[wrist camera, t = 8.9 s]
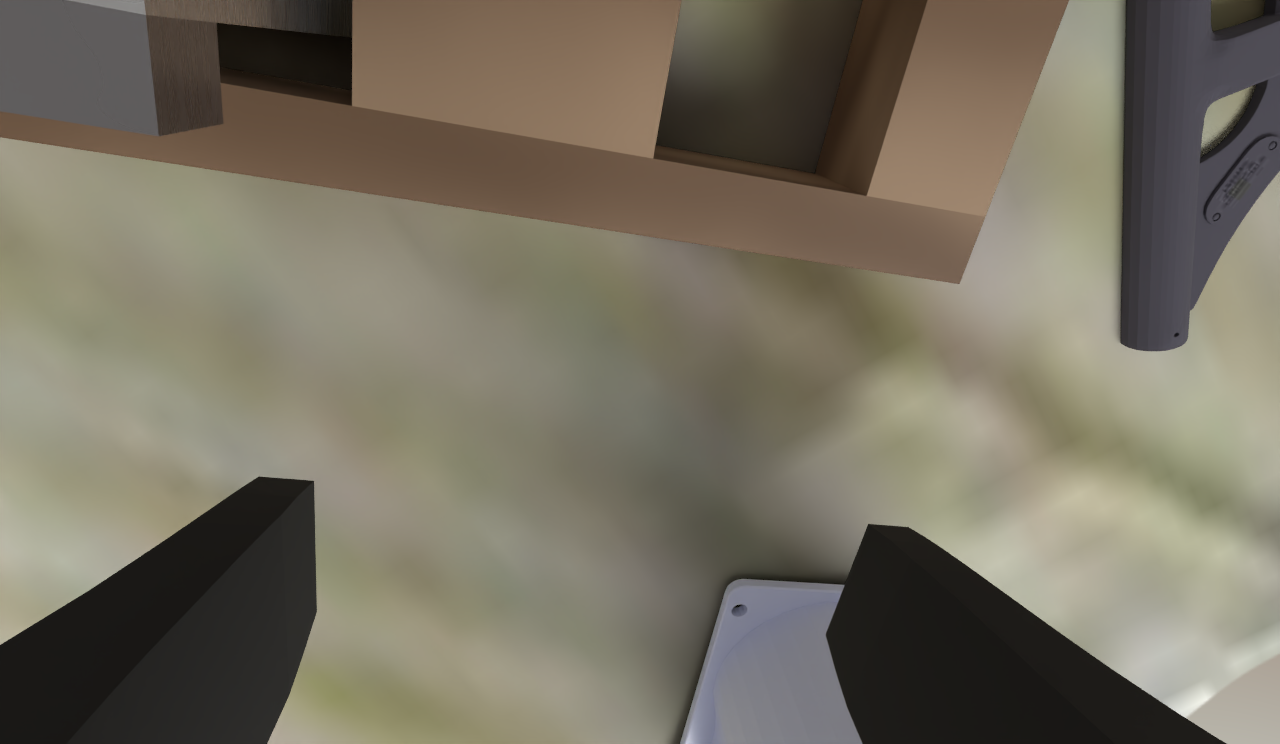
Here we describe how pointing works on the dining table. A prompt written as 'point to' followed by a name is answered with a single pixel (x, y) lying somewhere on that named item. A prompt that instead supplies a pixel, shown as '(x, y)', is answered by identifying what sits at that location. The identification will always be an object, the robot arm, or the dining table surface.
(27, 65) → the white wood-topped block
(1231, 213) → the bracket
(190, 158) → the brown holed block
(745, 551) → the dining table surface
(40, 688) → the robot arm
